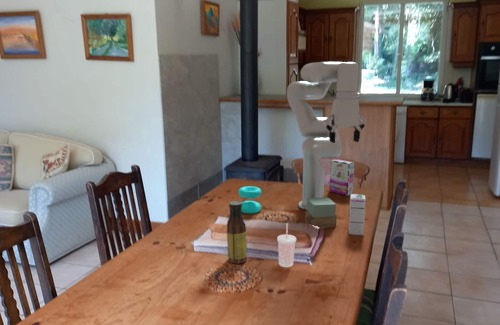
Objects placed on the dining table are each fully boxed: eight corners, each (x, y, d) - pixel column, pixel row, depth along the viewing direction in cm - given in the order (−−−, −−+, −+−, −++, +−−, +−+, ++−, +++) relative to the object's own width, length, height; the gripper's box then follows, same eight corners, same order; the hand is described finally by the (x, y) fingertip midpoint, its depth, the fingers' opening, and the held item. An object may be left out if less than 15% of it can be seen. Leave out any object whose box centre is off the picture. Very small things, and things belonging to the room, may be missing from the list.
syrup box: (363, 235, 166) (366, 199, 163) (347, 234, 167) (350, 197, 164) (363, 230, 172) (365, 194, 168) (347, 228, 173) (350, 193, 170)
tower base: (304, 222, 180) (305, 210, 179) (323, 219, 183) (324, 208, 182) (316, 230, 172) (317, 218, 171) (336, 226, 175) (336, 215, 174)
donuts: (237, 191, 186) (239, 185, 196) (237, 213, 188) (239, 206, 198) (260, 192, 185) (262, 185, 195) (260, 214, 187) (261, 207, 197)
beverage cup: (283, 269, 138) (285, 228, 135) (272, 262, 143) (273, 222, 140) (299, 265, 141) (300, 224, 138) (287, 258, 146) (289, 218, 143)
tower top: (306, 209, 180) (307, 198, 179) (327, 208, 181) (328, 197, 180) (313, 217, 171) (313, 205, 170) (335, 216, 173) (335, 204, 172)
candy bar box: (353, 194, 218) (355, 162, 214) (347, 196, 214) (349, 163, 210) (334, 189, 226) (336, 158, 222) (328, 191, 222) (330, 159, 218)
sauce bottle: (249, 258, 146) (250, 201, 142) (242, 266, 141) (243, 207, 136) (231, 255, 148) (231, 198, 144) (224, 262, 143) (223, 204, 138)
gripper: (363, 95, 169) (360, 139, 172) (320, 96, 165) (319, 141, 168) (372, 96, 161) (369, 142, 165) (328, 97, 157) (326, 144, 161)
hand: (344, 141), depth 166 cm, fingers open, 9 cm apart
